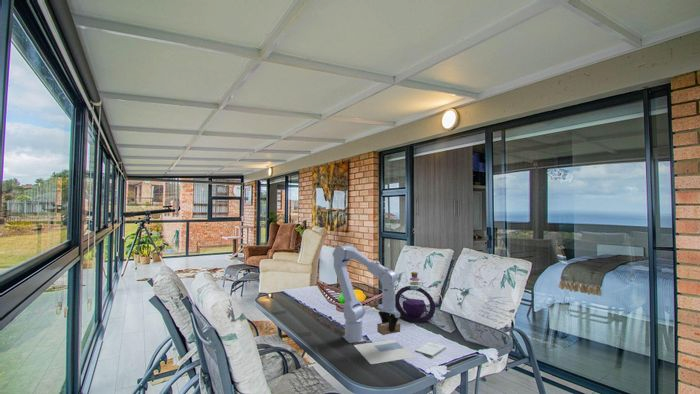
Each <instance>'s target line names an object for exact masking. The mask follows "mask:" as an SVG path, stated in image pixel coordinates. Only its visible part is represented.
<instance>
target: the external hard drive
mask: <svg viewBox="0 0 700 394" xmlns="http://www.w3.org/2000/svg"><path fill="white" fill-rule="evenodd" d="M446 349H447V347H446V346H445V345H443V344H438V343H435V342H430V341H429V342H426V343H425V344H423V345H422V346H420V347H419V348H417V349H416V350H414V352H416V353H419V354H421V355H423V356H425V357H428V358H430V357H431V359H433V358H435V357H436V356H438V355H439V354H441V353H442V352H443V351H445V350H446ZM437 354H438V355H437ZM434 356H435V357H434Z"/></svg>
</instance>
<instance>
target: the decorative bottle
mask: <svg viewBox="0 0 700 394" xmlns="http://www.w3.org/2000/svg"><path fill="white" fill-rule="evenodd" d="M418 273H419V272H416V271H411V272H410V274H411V277H410V278H409V281H410V282H409V285H408V286H403V287H402V288H400V289H399V290H397V292H395V308H396V309H397V311H398V312H400V316H402V317H403V318H404V319H405V320H408V321H410V322H412V323H419V324H420V323H425V322H428V321H430V320H431V319H432V318H433V317H434V314H435V312H436V303H435V300H434V299H433V297H432V296H431V294H430V293H429V292H427V290H426V289H423V288H421V287H419V285H420V283H419V281H420V278H418V275H419V274H418ZM407 291H417V292H419V293H421V294H422V295H424V296H425V297H426V299H427V300H428V303H429V310H427V307H426V303H425V299H418V298H417V299H416V298H409V297H407V296H405V295H404V293H405V292H407ZM401 297H403V298H404V299H405V300H403V301H402V307H401V304H400V299H401ZM425 312H426V313H427V314H426V315H423V314H424V313H425Z"/></svg>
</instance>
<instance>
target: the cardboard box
mask: <svg viewBox="0 0 700 394" xmlns="http://www.w3.org/2000/svg"><path fill="white" fill-rule="evenodd" d="M376 329H377V333H379V334H380V335H381V336H386V335H391V334H395V333H400V332H401V323H399V322H398V321H397V323H396V327H395V331H393V332H390V330H389V322H385V323H382V322H380V323H377V326H376Z"/></svg>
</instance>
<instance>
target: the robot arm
mask: <svg viewBox="0 0 700 394" xmlns="http://www.w3.org/2000/svg"><path fill="white" fill-rule="evenodd" d="M332 257H333V268H334V272H335V275H336V277H337V280H338V284H339V287H340V290H341V294H342V296H343V300H344V303H343V306H342V309H343V318H344V319H345V322H344V335H342V338H343V339H344V340H345V341H347V343H349V344H352V343H359V342H360V343H361V342H366V340H365V339H364V338H363V317H364V316H365V314H366V309H365V307H364V306H363V304H362V303H361V301H360V299H358V298H357V297H356V293H355V290H354V288H353V285H352V281H351V279H350V278H351V277H350V275H349V273H348V272H349V271H348V268H347V264H349V261H350V260H354V261H356V262H358V263H359V264H361V265H362V266H364V267H366V268H367V271H368V273H370V274H371V275H373V276H374V277H376V278H377V279H378V280H379V282H380V284H381V288H382V289H381V291H382V293H381V295H382V297H381V299H382V300H381V302H382V303H381V304H377V305H378V306H377V307H378V310H379V311H378V316H379V317H380V321H381V323H385V322H389V330H390V332H393V331H395V327H396V323H397V322H398V320H399V319H400V317H401V314H400V312H398V310H397V309H396V306H395V295H396V282H397V280H398V274H397V273H396V271H395V270H393V269H389V268H388V267H385V266H384V265H382V264H381V262H380V261H378V260H373V261H372V260H371V259H370V258H368V257H367V256H365V255H364V254H363V253H362V252H360V251H359V250H358V249H357V248H356V247H355V246H353V245H351V244H346V245H342V246H337V247H336V248H334V250H333V252H332Z"/></svg>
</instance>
